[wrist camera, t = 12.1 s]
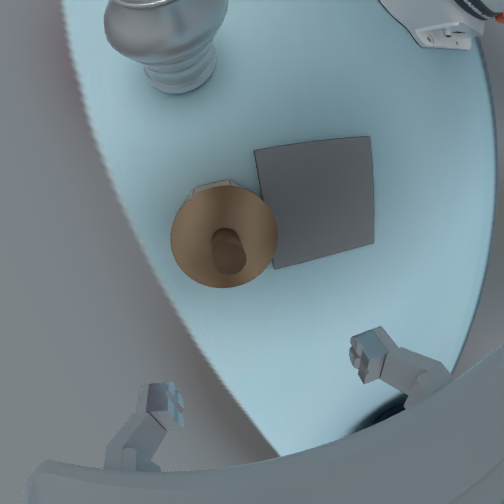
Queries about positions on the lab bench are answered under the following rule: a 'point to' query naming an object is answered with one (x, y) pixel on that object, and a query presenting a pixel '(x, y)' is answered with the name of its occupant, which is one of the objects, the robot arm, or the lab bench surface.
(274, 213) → the mat
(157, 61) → the plastic bottle
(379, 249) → the lab bench surface
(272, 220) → the lid
